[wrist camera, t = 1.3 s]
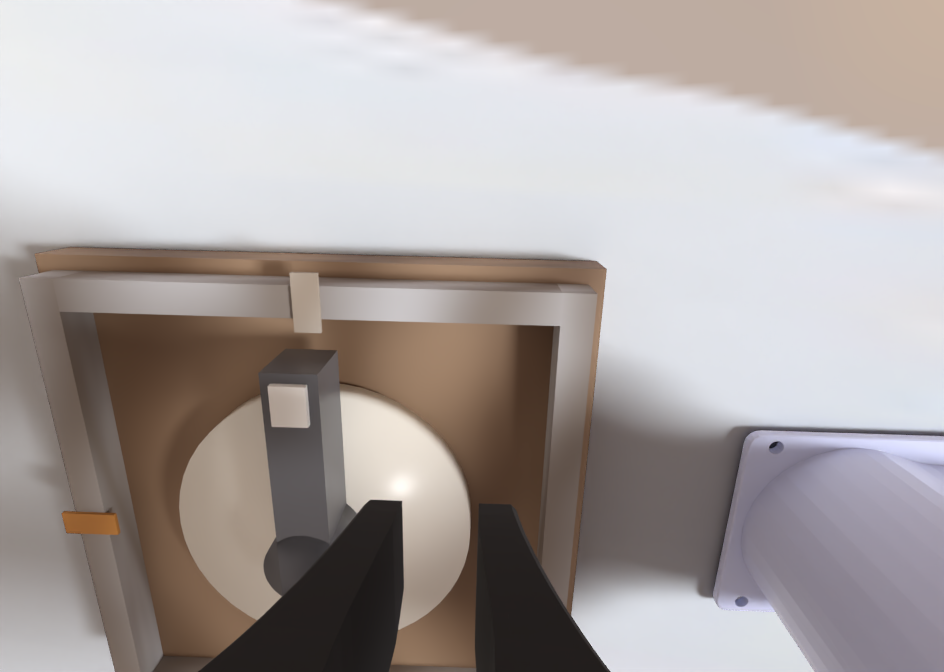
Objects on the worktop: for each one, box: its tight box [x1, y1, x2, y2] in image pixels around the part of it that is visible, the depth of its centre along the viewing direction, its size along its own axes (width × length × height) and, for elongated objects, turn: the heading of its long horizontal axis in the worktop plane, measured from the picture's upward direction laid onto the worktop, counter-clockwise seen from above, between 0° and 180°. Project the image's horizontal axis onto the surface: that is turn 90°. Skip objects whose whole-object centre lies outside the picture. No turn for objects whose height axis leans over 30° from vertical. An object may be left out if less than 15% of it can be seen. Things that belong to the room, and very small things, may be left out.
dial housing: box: [19, 247, 607, 672], centre depth 19 cm, size 18×18×3 cm
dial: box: [179, 349, 471, 630], centre depth 17 cm, size 12×10×3 cm
